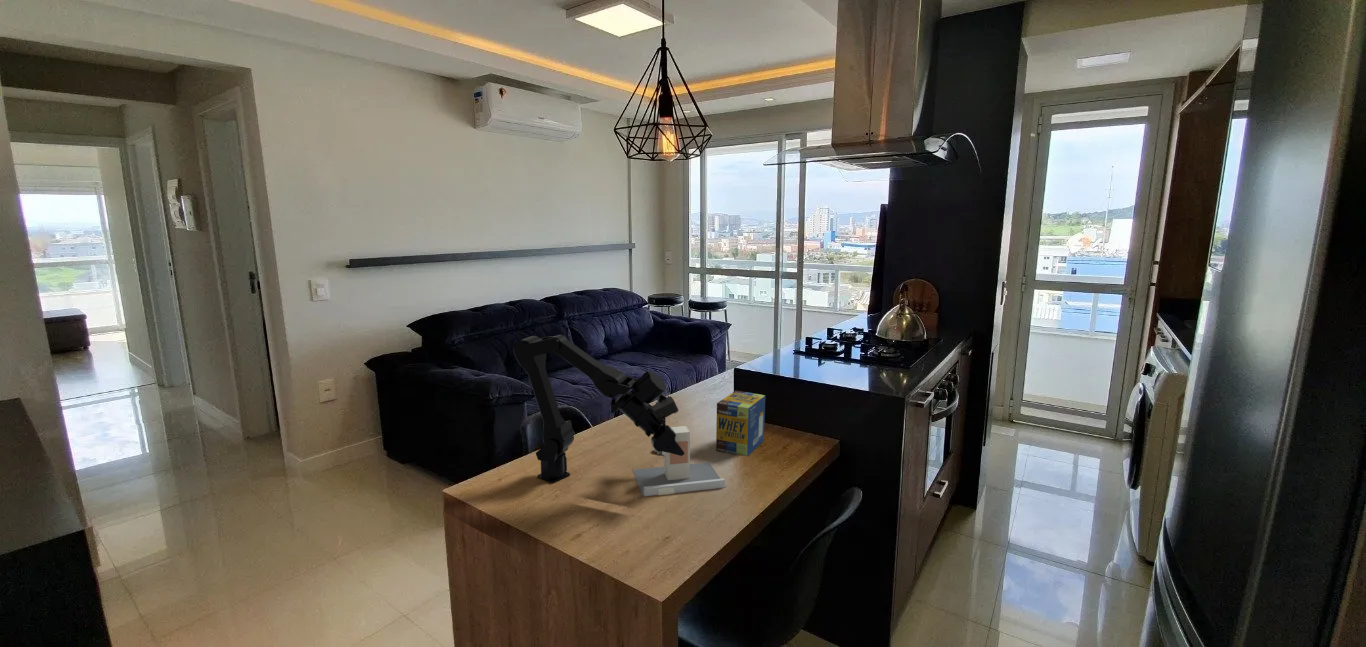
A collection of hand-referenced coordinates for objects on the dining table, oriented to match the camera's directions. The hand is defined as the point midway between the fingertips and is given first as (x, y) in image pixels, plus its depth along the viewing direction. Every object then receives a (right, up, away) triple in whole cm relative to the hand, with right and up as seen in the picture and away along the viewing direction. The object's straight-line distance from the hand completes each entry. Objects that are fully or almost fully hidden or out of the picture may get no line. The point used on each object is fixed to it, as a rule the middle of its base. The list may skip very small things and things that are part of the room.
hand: (679, 447), depth 152 cm
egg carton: (-3, -7, +20) cm, 21 cm away
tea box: (-1, -8, +1) cm, 8 cm away
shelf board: (0, -10, 0) cm, 10 cm away
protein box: (+19, -5, +26) cm, 33 cm away
